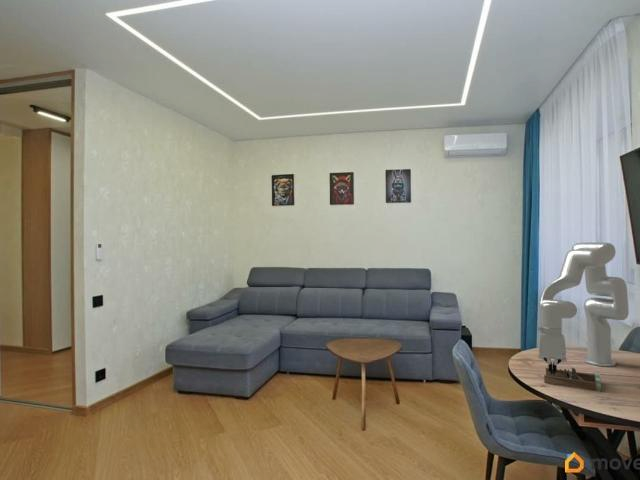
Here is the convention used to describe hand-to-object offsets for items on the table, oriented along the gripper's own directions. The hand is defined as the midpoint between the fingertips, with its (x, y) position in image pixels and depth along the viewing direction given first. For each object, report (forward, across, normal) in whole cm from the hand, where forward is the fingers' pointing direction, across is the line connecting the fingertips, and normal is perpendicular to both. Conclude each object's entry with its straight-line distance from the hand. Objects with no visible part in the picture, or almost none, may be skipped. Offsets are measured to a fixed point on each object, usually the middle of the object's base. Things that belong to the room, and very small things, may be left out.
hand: (552, 373), depth 169 cm
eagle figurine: (+3, +8, 0) cm, 8 cm away
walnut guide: (+3, +6, 0) cm, 7 cm away
